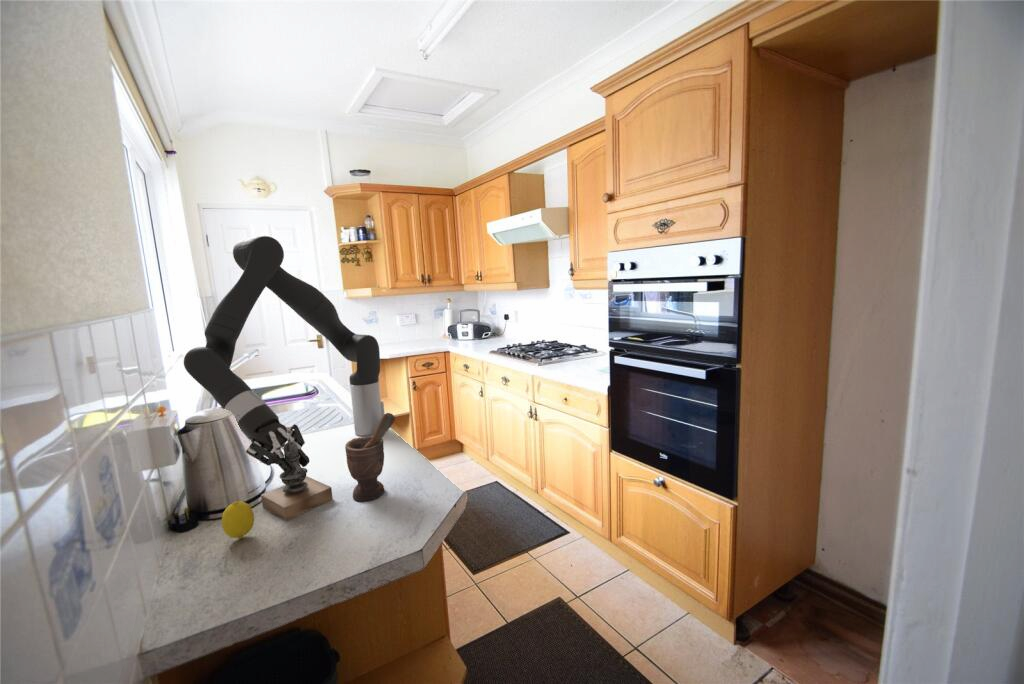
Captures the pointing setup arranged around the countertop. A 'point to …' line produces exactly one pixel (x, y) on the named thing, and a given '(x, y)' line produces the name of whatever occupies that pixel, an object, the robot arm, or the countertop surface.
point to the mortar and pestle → (368, 461)
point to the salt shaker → (296, 479)
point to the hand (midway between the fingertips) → (300, 467)
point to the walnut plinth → (296, 499)
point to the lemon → (237, 519)
